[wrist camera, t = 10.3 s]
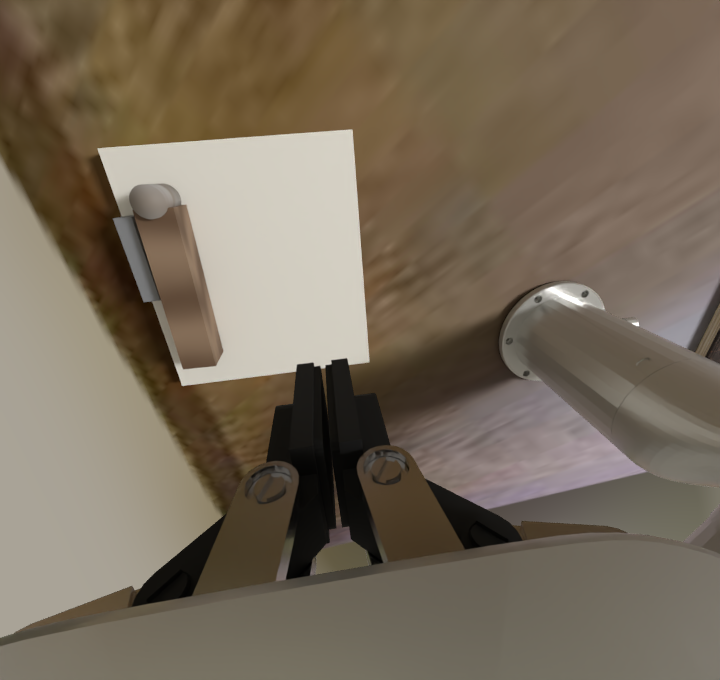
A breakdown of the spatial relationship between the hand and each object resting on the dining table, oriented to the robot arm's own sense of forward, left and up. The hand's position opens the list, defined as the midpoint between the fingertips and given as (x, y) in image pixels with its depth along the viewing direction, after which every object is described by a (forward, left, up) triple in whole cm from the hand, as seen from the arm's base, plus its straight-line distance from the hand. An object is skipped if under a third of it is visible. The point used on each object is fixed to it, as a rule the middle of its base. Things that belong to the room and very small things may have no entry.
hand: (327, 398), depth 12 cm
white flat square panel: (+6, +1, -25) cm, 26 cm away
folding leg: (+12, +1, -23) cm, 26 cm away
